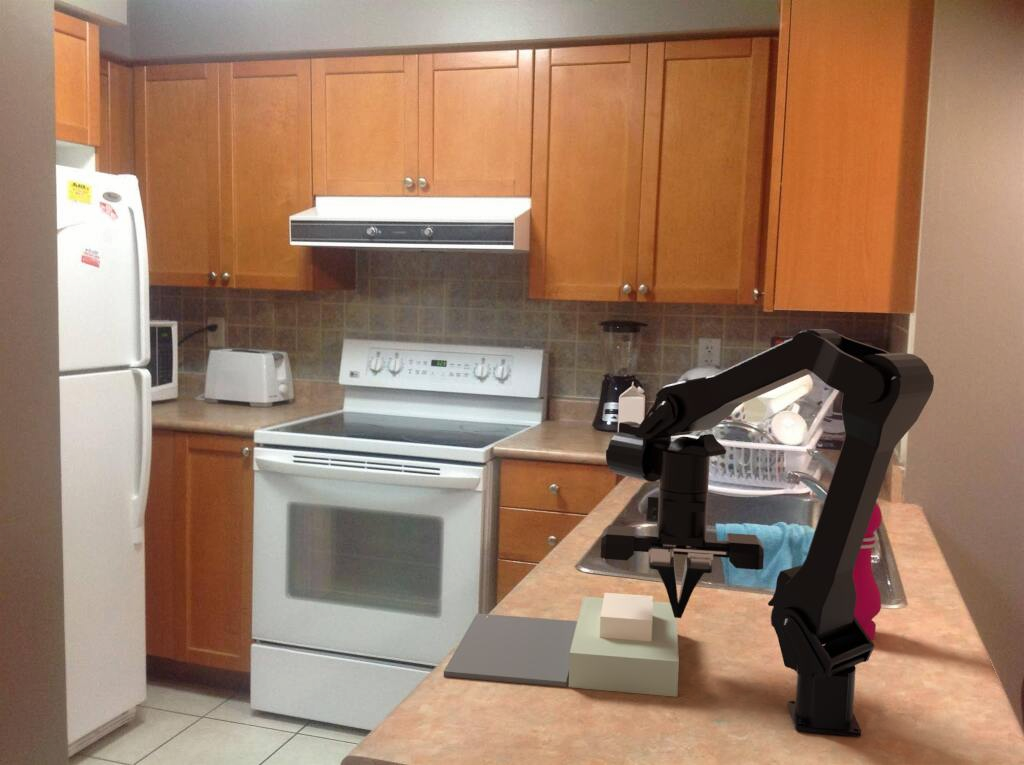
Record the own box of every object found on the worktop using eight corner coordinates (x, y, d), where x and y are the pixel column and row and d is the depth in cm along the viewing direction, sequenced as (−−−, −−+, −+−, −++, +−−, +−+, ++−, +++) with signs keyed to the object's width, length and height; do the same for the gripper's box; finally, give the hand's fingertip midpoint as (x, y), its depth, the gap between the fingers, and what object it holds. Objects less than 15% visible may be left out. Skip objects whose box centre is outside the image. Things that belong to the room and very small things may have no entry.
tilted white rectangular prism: (651, 641, 110) (652, 620, 110) (599, 637, 111) (600, 616, 111) (652, 615, 119) (652, 596, 119) (604, 611, 120) (604, 592, 120)
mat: (565, 687, 107) (566, 681, 106) (443, 676, 109) (443, 671, 109) (580, 625, 126) (580, 621, 126) (476, 617, 128) (476, 613, 128)
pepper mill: (837, 620, 131) (845, 477, 129) (888, 634, 126) (898, 485, 124) (811, 632, 126) (819, 483, 124) (863, 648, 121) (873, 493, 119)
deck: (677, 696, 105) (678, 661, 104) (568, 687, 107) (569, 652, 106) (674, 633, 124) (675, 603, 124) (582, 625, 126) (583, 596, 126)
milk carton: (617, 450, 268) (619, 383, 266) (618, 446, 275) (620, 381, 273) (642, 451, 267) (645, 384, 265) (643, 447, 273) (645, 382, 272)
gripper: (757, 480, 119) (751, 601, 121) (608, 471, 122) (603, 590, 123) (767, 499, 108) (760, 632, 110) (602, 489, 111) (598, 619, 113)
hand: (677, 616), depth 114 cm, fingers closed
